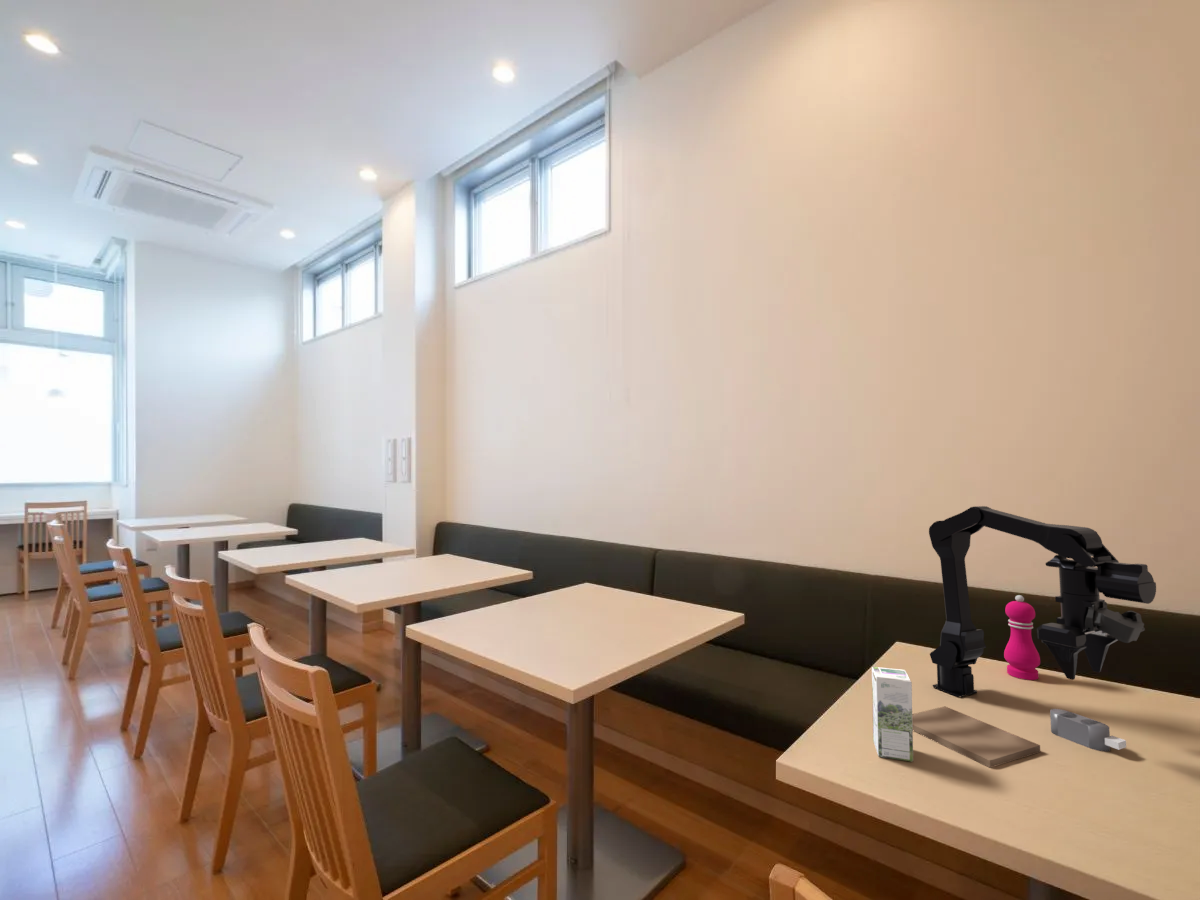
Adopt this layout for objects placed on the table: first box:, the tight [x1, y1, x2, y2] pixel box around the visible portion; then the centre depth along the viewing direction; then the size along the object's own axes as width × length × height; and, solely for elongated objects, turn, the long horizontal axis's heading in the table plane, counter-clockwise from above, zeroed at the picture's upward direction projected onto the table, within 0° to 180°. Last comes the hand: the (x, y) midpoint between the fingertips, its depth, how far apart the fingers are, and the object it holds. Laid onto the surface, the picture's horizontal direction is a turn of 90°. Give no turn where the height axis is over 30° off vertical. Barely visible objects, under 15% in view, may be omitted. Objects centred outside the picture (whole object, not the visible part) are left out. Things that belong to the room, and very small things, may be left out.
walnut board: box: [912, 706, 1041, 768], centre depth 104 cm, size 18×14×1 cm
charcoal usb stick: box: [1049, 708, 1127, 752], centre depth 102 cm, size 11×4×4 cm, turn 22°
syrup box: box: [871, 666, 914, 762], centre depth 99 cm, size 6×6×14 cm
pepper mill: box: [1003, 594, 1041, 681], centre depth 136 cm, size 7×7×20 cm
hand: (1083, 675), depth 104 cm, fingers open, 9 cm apart
